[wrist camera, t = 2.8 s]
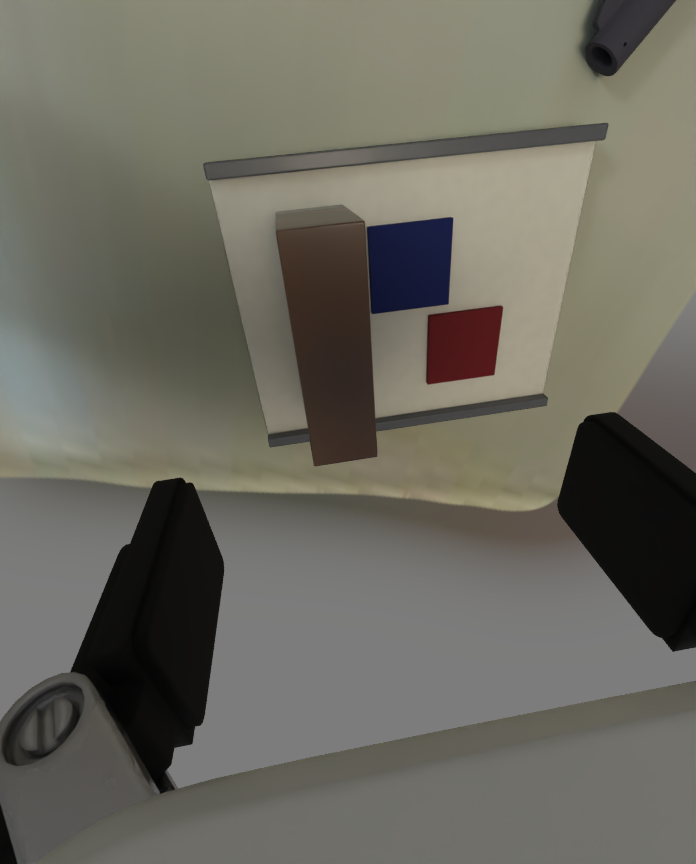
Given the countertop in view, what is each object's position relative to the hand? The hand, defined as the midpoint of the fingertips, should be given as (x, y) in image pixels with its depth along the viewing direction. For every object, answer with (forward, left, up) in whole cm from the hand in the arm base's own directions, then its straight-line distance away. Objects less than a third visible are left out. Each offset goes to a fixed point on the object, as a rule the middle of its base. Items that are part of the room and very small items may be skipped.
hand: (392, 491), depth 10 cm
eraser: (-1, 0, -13) cm, 13 cm away
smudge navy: (+4, +2, -13) cm, 14 cm away
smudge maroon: (+7, -2, -13) cm, 15 cm away
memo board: (+4, 0, -15) cm, 15 cm away
